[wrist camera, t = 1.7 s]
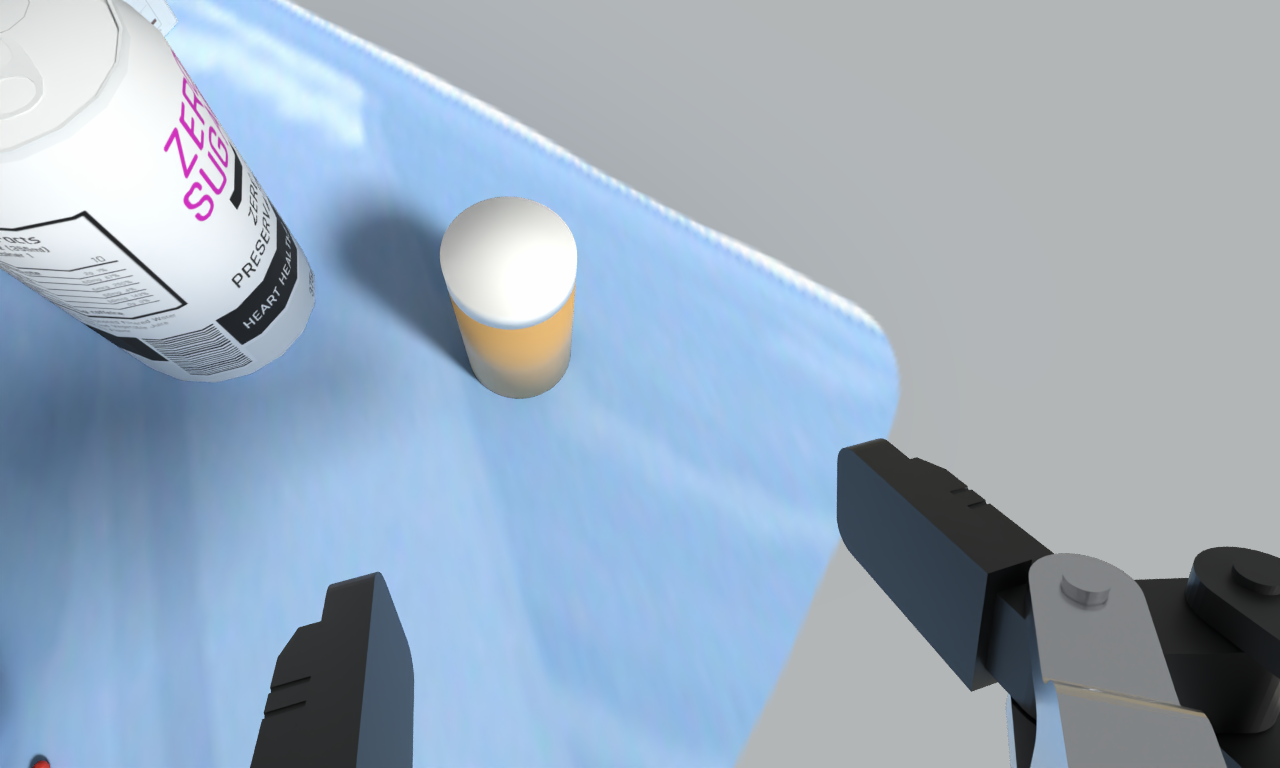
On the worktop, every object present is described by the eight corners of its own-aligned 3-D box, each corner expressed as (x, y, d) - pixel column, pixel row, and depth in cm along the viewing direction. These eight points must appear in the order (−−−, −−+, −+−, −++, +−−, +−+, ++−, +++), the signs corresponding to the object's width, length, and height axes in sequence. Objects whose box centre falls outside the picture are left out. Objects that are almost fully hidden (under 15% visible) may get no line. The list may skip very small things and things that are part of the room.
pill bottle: (449, 371, 32) (413, 279, 24) (498, 290, 34) (481, 176, 26) (542, 415, 32) (539, 337, 24) (587, 330, 34) (599, 230, 25)
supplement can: (95, 288, 32) (-269, 11, 18) (263, 199, 34) (62, -104, 20) (185, 423, 30) (-134, 239, 16) (355, 321, 33) (206, 84, 19)
